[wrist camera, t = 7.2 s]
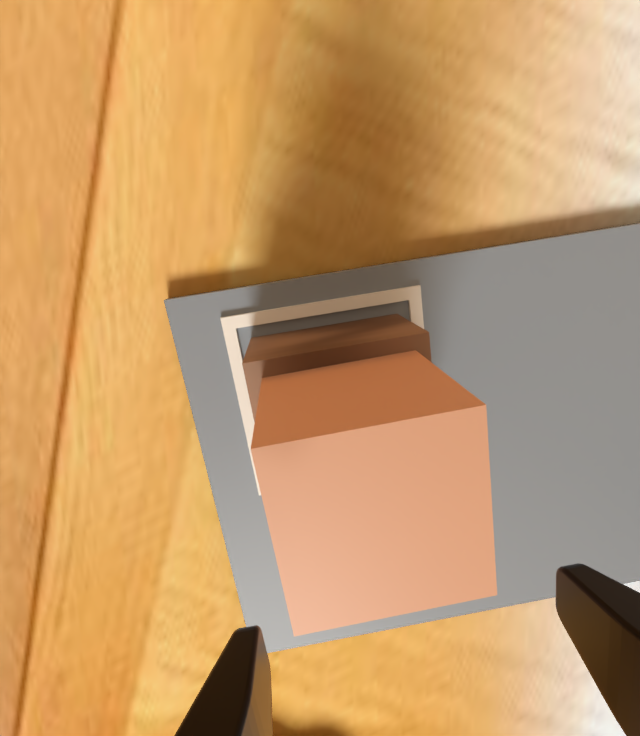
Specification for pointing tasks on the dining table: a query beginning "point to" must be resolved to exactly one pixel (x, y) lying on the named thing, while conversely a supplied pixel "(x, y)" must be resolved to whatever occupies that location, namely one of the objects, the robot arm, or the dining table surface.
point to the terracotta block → (374, 490)
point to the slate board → (477, 375)
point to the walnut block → (329, 348)
